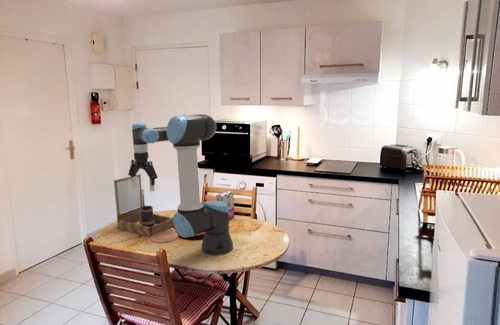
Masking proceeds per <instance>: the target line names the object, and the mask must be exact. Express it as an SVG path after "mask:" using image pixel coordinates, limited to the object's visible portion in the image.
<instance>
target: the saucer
mask: <svg viewBox="0 0 500 325" xmlns="http://www.w3.org/2000/svg"><path fill="white" fill-rule="evenodd" d="M178 238H179V234H178V232H177V231H172V230H166V231H163V232H158V233H155V234H153V235H152V236H151V237H150V241H151V242H152V243H155V244H167V243H171V242H174V241H177V240H178Z"/></svg>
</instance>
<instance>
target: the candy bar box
mask: <svg viewBox="0 0 500 325" xmlns="http://www.w3.org/2000/svg"><path fill="white" fill-rule="evenodd" d="M234 195H235V194H234V191H230V190H226V191H223V192H220V193H219V194H216V201H221V202H224V203H226V204H227V205H228V210H229V221H230V220H232V219H234V218H235V200H234Z"/></svg>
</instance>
